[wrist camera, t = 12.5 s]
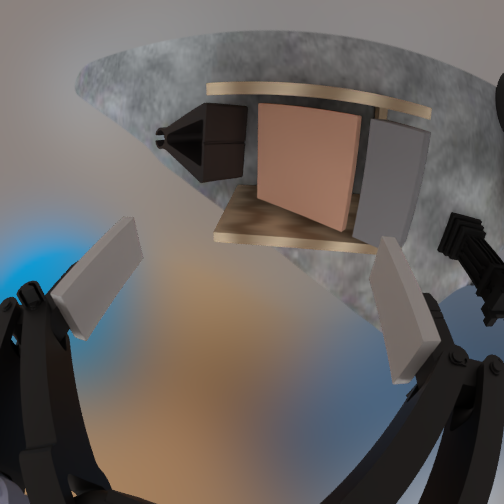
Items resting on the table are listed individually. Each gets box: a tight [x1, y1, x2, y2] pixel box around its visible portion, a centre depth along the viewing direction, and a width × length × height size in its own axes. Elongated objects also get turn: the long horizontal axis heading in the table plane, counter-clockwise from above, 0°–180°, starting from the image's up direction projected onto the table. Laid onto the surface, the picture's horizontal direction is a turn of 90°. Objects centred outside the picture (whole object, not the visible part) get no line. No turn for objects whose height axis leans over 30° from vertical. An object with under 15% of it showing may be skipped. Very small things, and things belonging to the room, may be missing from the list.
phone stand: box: [156, 103, 248, 183], centre depth 33 cm, size 9×6×12 cm
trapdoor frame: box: [206, 82, 432, 255], centre depth 31 cm, size 21×17×15 cm
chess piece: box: [437, 212, 504, 327], centre depth 32 cm, size 8×8×20 cm
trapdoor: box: [257, 103, 431, 248], centre depth 27 cm, size 18×12×4 cm
